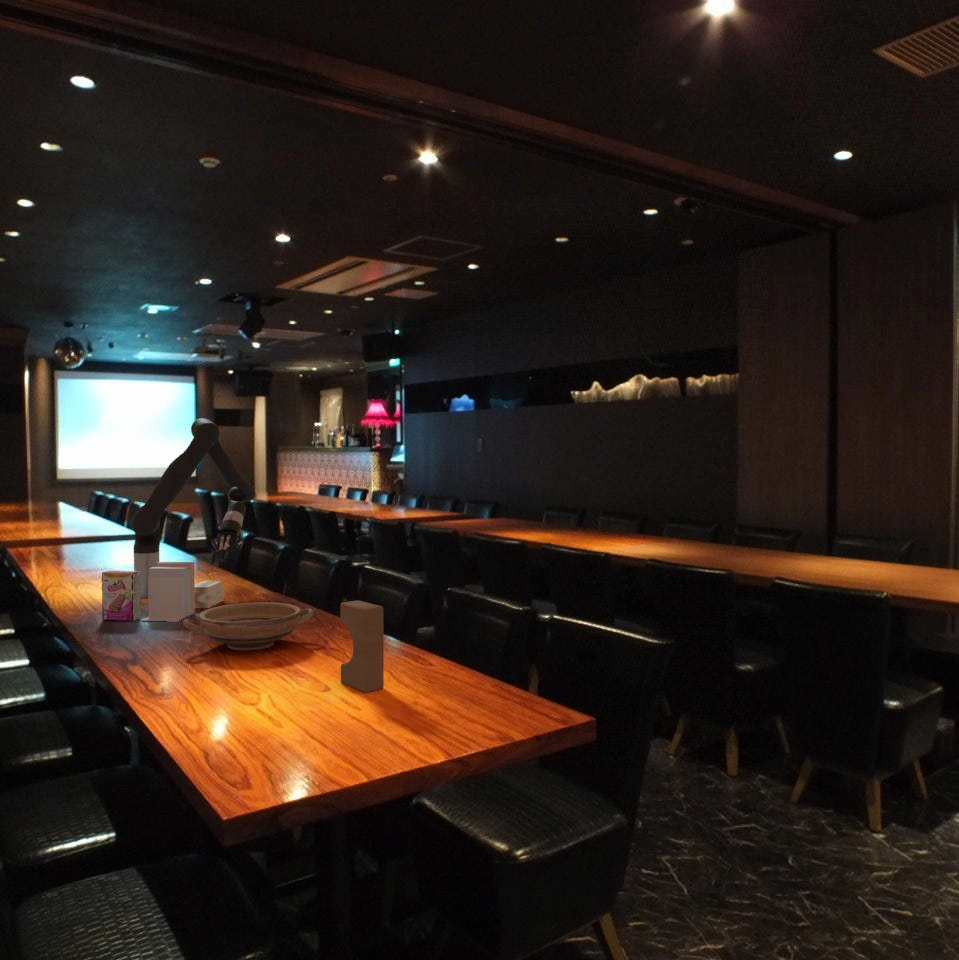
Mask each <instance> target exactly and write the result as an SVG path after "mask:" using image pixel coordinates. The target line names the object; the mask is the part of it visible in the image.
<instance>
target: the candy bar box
mask: <svg viewBox="0 0 959 960" xmlns="http://www.w3.org/2000/svg"><path fill="white" fill-rule="evenodd" d="M101 605H102V606H101V608H102V611H101V613H102V618H101V619H102V621H104V620H116V621H115V622H135V620H136V621H138V620H140V619H141V598H140V571H134V570H112V569H111V570H106V571H103V572H101ZM137 619H138V620H137ZM117 620H118V621H117Z"/></svg>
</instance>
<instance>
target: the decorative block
mask: <svg viewBox="0 0 959 960" xmlns="http://www.w3.org/2000/svg"><path fill="white" fill-rule="evenodd" d="M339 607H340V608H339V609H340V611H339V612H340V623H342V624H343V625H344V626H346V628H347V629H348V631H349V633H350V636H351V639H352V646H353V649H352V650H353V651H352V656H351V658H350V660H349V661H347V662H344V663H341V664H340V683H341V684H343V685H345V686H348V687H349V688H353V689H356V690H358V691H360V692H363V693H365V694H367V693H371V692H374V691H379V690H383V689H384V687H385V685H384V679H385V678H384V673H385V672H384V666H385V665H384V661H385V660H384V658H385V657H384V607H383V606H381V605H379V604H374V603H369V602H366V601H362V600H352V601H345V602H341V603H340V606H339Z"/></svg>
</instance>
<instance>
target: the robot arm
mask: <svg viewBox="0 0 959 960" xmlns="http://www.w3.org/2000/svg"><path fill="white" fill-rule="evenodd" d="M190 432H191V435H192V436H193V438H192V440H191V442H190V443H189V445H188V446H187V447H186V449H185V450H184V451H183V452H182V453H181V454H179V455H178V456H177V457H176V458H175V459H174V460H172V461H171V462H170V463H169V465H168V466H167V468H166V469H165V471H164V472H163V474H162V475H161V477H160V478H159V480H158V482H157V484H156V485H155V487H154V489H153V491H152V493H151V495H150V497H149V498H148V499H147V501H146V502H145V504H143V506H142V507H141V509H140V510H139V511H138V512H137V513H136V514H135V515H134V516H133V517H132V521H131V528H132V530H133V532H134V543H133V571H140V599H145V598H147V599H148V577H149V568H152V567H157V563H158V562H160V546H161V519H162V516H163V514H164V513H165V511H166V509H167V508H168V507H169V506H170V505H171V503H172V502H174V501H175V499H176V498H177V497H178V496H179V495H180V493H181V492H182V491H183V490H184V489H185V487H186V485H187V483H188V482H189V480H190V479H191V477H192V476H193V474H194V473H195V471H196V470H197V469H198V466H199V465H200V463H201V461H202V460H203V458H204V457H205V456H206V455H208V456H209V457H210V459H211V461H212V463H213V465H214V466H215V469H216V470H217V472H218V473H219V476H220V477H221V479H222V480H223V482H224V484H225V485H226V486H228V487H231V488H230V490H229V491H228V494H227V497H228V503H227V505H228V506H227V510H226V512H225V515H224V517H223V520H222V521H221V522H222V523H221V525H220V528H219V533H218V534H217V536H216V538H210V543H211V545H212V546H213V548H214V549H215V552H217V553H218V554H217V555H216V556H217V559H218V560H219V561H220V562H224V560H226V558H227V556H228V553H233V552H235V550H236V549H238V548H239V547H241V546H242V545H243V541H242V538H239V537H240V533H241V530H242V527H243V522H244V517H245V515H246V511H247V506H246V505H245V503H247V502H251V501H253V500H254V499H255V497H256V492H255V488H254V487H253V485H252V484H251V483H250V482H249V481H248V480H247V479H246V478H245V477H244V476H243V475H242V474H241V473H240V471H239V469H238V468H237V466H236V464H235V462H234V461H233V460H232V459H231V457H230V455H229V454H228V453H227V452H226V450H225V449H224V447H223V446H222V445H221V442H220V441H219V437H220V428H219V426H218V424H216V423H215V422H213V421H212V420H210V419H208V418H205V417H203V418H202V417H201V418H197V419H196V420H194V421H193V422H192V423H191V428H190ZM218 543H219V546H218Z"/></svg>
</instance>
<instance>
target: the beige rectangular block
mask: <svg viewBox="0 0 959 960" xmlns="http://www.w3.org/2000/svg"><path fill="white" fill-rule="evenodd" d="M194 599H195V608H209V609H211V608H213V607H214V606H213V605H215V606H217V605H218V604H217V603H219V602H221V601H223V602H224V580H203V581H200V582H197V583H196V584H195V583H194ZM221 603H222V602H221ZM216 604H217V605H216ZM219 604H220V603H219ZM212 606H213V607H212ZM210 607H211V608H210Z"/></svg>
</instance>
